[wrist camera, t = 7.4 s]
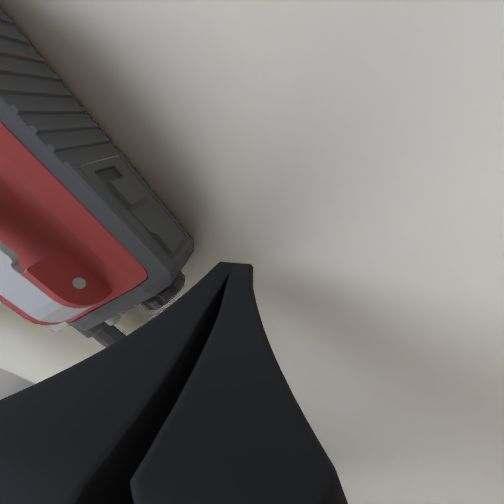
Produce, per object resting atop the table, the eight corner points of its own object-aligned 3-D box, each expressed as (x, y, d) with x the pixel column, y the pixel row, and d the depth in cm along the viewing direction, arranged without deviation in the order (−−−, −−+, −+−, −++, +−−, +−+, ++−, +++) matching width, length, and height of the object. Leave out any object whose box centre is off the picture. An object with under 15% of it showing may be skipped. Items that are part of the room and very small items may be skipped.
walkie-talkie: (-162, 94, 9) (176, 376, 17) (-479, 82, 5) (144, 453, 13) (-102, -138, 6) (285, 343, 13) (-811, -594, 2) (285, 434, 10)
